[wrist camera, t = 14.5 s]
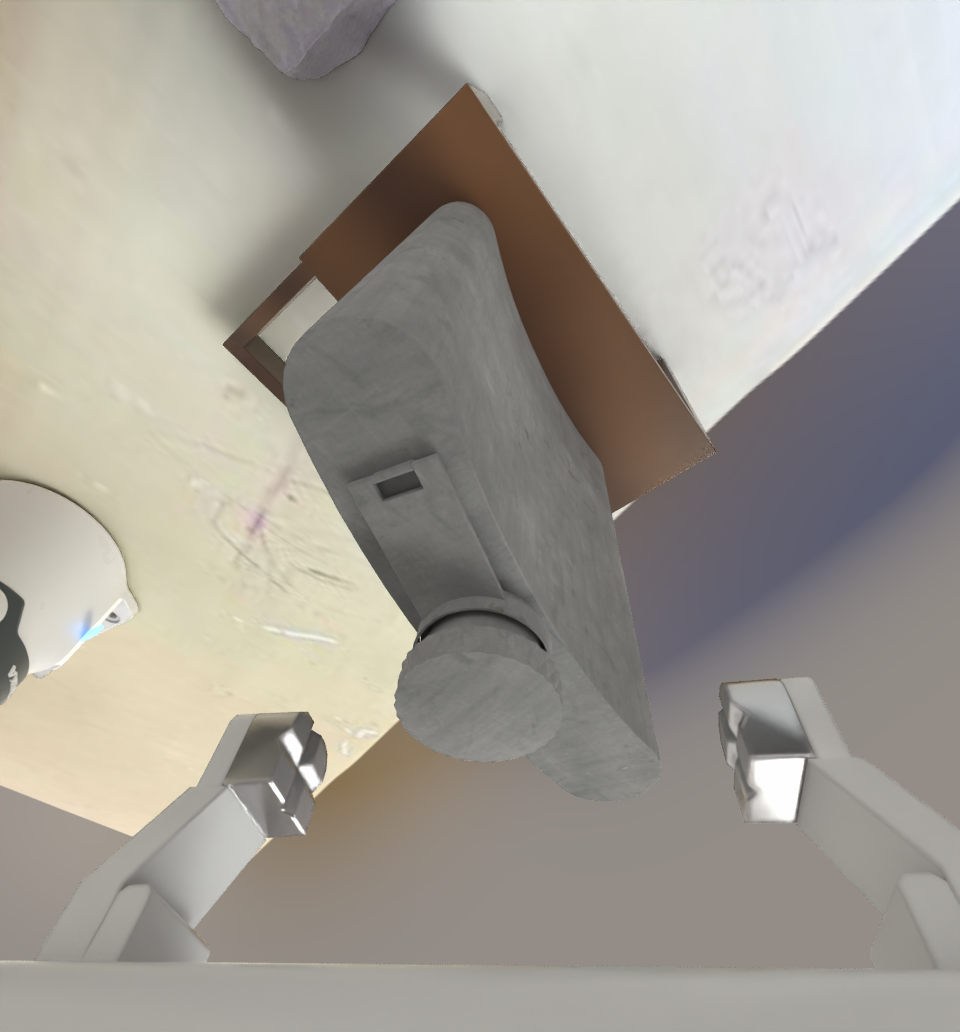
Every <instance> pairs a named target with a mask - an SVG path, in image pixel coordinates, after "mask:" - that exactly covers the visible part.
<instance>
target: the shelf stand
mask: <svg viewBox="0 0 960 1032" xmlns="http://www.w3.org/2000/svg"><path fill="white" fill-rule="evenodd" d="M502 120H503V118H502V116H501V115H500V113H499V112H498V110H497V109H496V107H495V106H494V104H493V103H492V101H491V100H490V98H489V97H488V95H487V94H486V93H484V92H482V91H480V90H479V89H477V88H475V87H473V86H471V85H469V84H468V83H467V84H465V85H464V86H463V87H462V88H461V89H460V91H459V92H458V93H457V94H456V95H455V96H454V97H453V98H452V99H451V100H450V101H449V102H448V103H447V104H446V105H445V106H444V107H443V108H442V109H441V110H440V111H439V112H438V113H437V114H436V115H435V117H434V118H433V119H432V120H431V121H430V122H429V123H428V124H427V125H426V126H425V127H424V128H423V129H422V130H421V131H420V132H419V133H418V134H417V135H416V136H415V137H414V138H413V139H412V140H411V141H410V143H409V144H408V145H407V146H406V147H405V148H404V149H403V150H402V151H401V152H400V153H399V154H398V155H397V156H396V157H395V158H394V159H393V160H392V161H391V162H390V163H389V164H388V165H387V166H386V167H385V169H384V170H383V171H382V172H381V173H380V174H379V175H378V176H377V177H376V178H375V179H374V180H373V181H372V182H371V183H370V184H369V185H368V186H367V187H366V188H365V189H364V190H363V191H362V192H361V193H360V194H359V196H358V197H357V198H356V199H355V200H354V201H353V202H352V203H351V204H350V205H349V206H348V207H347V208H346V209H345V210H344V211H343V212H342V213H341V214H340V215H339V216H338V217H337V218H336V219H335V220H334V222H333V223H332V224H331V225H330V226H329V227H328V228H327V229H326V230H325V231H324V232H323V233H322V234H321V235H320V236H319V237H318V238H317V239H316V240H315V241H314V242H313V243H312V244H311V245H310V246H309V248H308V249H307V250H306V251H305V252H304V253H303V254H302V255H301V256H300V257H299V258H300V260H301V261H302V263H301V264H300V265H299V266H298V267H297V268H296V269H295V270H294V271H293V272H292V273H291V274H290V275H289V276H288V277H287V278H286V279H285V280H284V281H283V282H282V283H281V284H280V285H279V286H278V288H277V289H276V290H275V291H274V292H273V293H272V294H271V295H270V296H269V297H268V298H267V299H266V300H265V301H264V302H263V303H262V304H261V305H260V306H259V307H258V308H257V309H256V310H255V311H254V312H253V313H252V314H251V315H250V316H249V317H248V318H247V319H246V321H245V322H244V323H243V324H242V325H241V326H240V327H239V328H238V329H237V330H236V331H235V332H234V333H233V334H232V335H231V336H230V337H229V338H228V339H227V340H226V341H225V342H224V343H223V346H224V347H225V348H226V349H227V350H228V351H229V352H230V353H231V354H232V355H234V356H235V357H236V358H237V359H238V360H239V361H240V362H241V363H242V364H243V365H244V366H245V367H246V368H247V369H248V370H249V371H250V372H251V373H252V374H253V375H254V376H255V377H256V378H257V379H258V380H259V381H260V382H261V383H262V384H263V385H264V386H265V387H267V388H268V389H269V390H270V391H271V392H272V393H273V394H274V395H275V396H276V397H277V398H278V399H279V400H280V401H281V402H282V403H283V404H284V405H285V406H286V403H285V398H284V391H283V374H284V368H285V365H286V364H285V363H284V362H283V361H282V360H281V359H280V358H279V357H278V356H277V355H276V354H275V353H274V352H273V351H272V350H271V349H270V348H269V347H268V346H267V345H266V344H265V343H264V342H263V341H262V340H261V339H260V338H259V337H258V335H259V334H260V333H261V332H262V331H263V330H264V329H265V328H266V327H267V326H268V325H269V324H270V323H271V322H272V321H273V320H274V319H275V318H276V317H277V316H278V315H279V314H280V313H281V312H282V311H283V310H284V309H285V308H286V307H287V306H288V305H289V304H290V303H291V302H292V301H293V300H294V299H295V298H296V297H297V296H298V295H299V294H300V293H301V292H302V291H303V290H304V289H305V288H306V287H307V286H308V285H309V284H310V283H311V282H312V281H313V280H314V279H315V278H316V277H317V279H318V280H319V281H320V282H321V283H322V284H323V285H324V286H325V287H326V289H327V290H328V291H329V292H330V293H331V294H332V295H333V296H334V297H335V299H336V300H337V301H339V300H341V299H342V298H343V297H344V296H345V295H346V294H347V293H348V292H349V291H350V290H351V289H352V288H353V287H354V286H356V285H357V284H358V283H359V282H360V281H361V280H362V279H363V278H364V277H365V276H366V275H367V274H368V273H369V272H371V271H372V270H373V269H374V268H375V267H376V266H377V265H378V264H379V263H380V262H381V261H382V260H383V259H384V258H385V257H387V256H388V255H389V254H390V253H391V252H392V251H393V250H394V249H395V248H396V247H397V246H398V245H399V244H400V243H402V242H403V241H404V240H405V239H406V238H407V237H408V236H409V235H410V234H411V233H412V232H413V231H414V230H415V229H417V228H418V227H419V226H420V225H421V224H422V223H423V222H424V221H425V220H426V219H427V218H428V217H429V216H430V215H431V214H433V213H434V212H435V211H436V210H437V209H438V208H440V207H441V206H443V205H445V204H448V203H451V202H456V201H458V202H466V203H470V204H473V205H474V206H476V207H478V208H479V209H481V210H482V211H483V212H484V213H485V214H486V215H487V217H488V218H489V219H490V221H491V223H492V225H493V228H494V231H495V235H496V239H497V243H498V247H499V252H500V256H501V259H502V263H503V267H504V270H505V274H506V277H507V281H508V284H509V287H510V290H511V293H512V296H513V299H514V302H515V305H516V307H517V310H518V313H519V315H520V318H521V321H522V324H523V326H524V328H525V331H526V333H527V335H528V338H529V340H530V343H531V345H532V347H533V349H534V351H535V353H536V356H537V358H538V360H539V362H540V364H541V366H542V368H543V370H544V373H545V375H546V377H547V379H548V381H549V383H550V385H551V387H552V388H553V390H554V392H555V394H556V396H557V398H558V400H559V401H560V403H561V405H562V406H563V408H564V410H565V411H566V413H567V415H568V416H569V418H570V420H571V421H572V423H573V424H574V426H575V427H576V429H577V430H578V432H579V433H580V435H581V436H582V437H583V439H584V440H585V442H586V443H587V444H588V446H589V447H590V448H591V449H592V451H593V452H594V453H595V454H596V456H597V457H598V458H599V460H600V462H601V464H602V467H603V472H604V477H605V482H606V487H607V493H608V498H609V503H610V508H611V513H613V512H615V511H617V510H619V509H620V508H622V507H624V506H625V505H627V504H629V503H631V502H632V501H634V500H636V499H637V498H639V497H641V496H643V495H644V494H646V493H648V492H649V491H651V490H653V489H655V488H656V487H658V486H660V485H662V484H663V483H665V482H667V481H668V480H670V479H672V478H674V477H675V476H677V475H679V474H681V473H682V472H684V471H686V470H687V469H689V468H691V467H693V466H694V465H696V464H698V463H699V462H701V461H703V460H705V459H706V458H708V457H710V456H711V455H713V454H715V453H716V450H715V448H714V447H713V445H712V443H711V441H710V439H709V437H708V436H707V434H706V432H705V430H704V428H703V427H702V425H701V423H700V421H699V419H698V418H697V416H696V414H695V412H694V410H693V408H692V407H691V405H690V403H689V401H688V399H687V398H686V396H685V394H684V392H683V390H682V389H681V387H680V385H679V383H678V381H677V379H676V378H675V376H674V374H673V373H672V371H671V370H670V368H669V367H668V365H667V364H666V362H665V361H664V359H663V358H662V359H660V360H659V361H658V362H657V361H656V360H655V358H654V357H653V355H652V354H651V352H650V351H649V349H648V348H647V346H646V345H645V343H644V342H643V340H642V339H641V337H640V336H639V334H638V333H637V331H636V330H635V328H634V327H633V325H632V324H631V323H630V321H629V320H628V318H627V317H626V315H625V314H624V312H623V311H622V309H621V308H620V306H619V305H618V303H617V302H616V300H615V299H614V297H613V296H612V294H611V293H610V291H609V290H608V288H607V287H606V285H605V284H604V282H603V281H602V279H601V278H600V277H599V275H598V274H597V272H596V271H595V269H594V268H593V266H592V265H591V263H590V262H589V260H588V259H587V257H586V256H585V254H584V253H583V251H582V250H581V248H580V247H579V245H578V244H577V242H576V241H575V239H574V238H573V236H572V235H571V233H570V232H569V230H568V229H567V228H566V226H565V225H564V223H563V222H562V220H561V219H560V217H559V216H558V214H557V213H556V211H555V210H554V208H553V207H552V205H551V204H550V202H549V201H548V199H547V198H546V196H545V195H544V193H543V192H542V190H541V189H540V187H539V186H538V184H537V183H536V182H535V180H534V179H533V177H532V176H531V174H530V173H529V171H528V170H527V168H526V167H525V165H524V164H523V162H522V161H521V159H520V158H519V156H518V155H517V153H516V152H515V150H514V149H513V147H512V146H511V144H510V143H509V141H508V140H507V138H506V137H505V136H504V134H503V133H502V131H501V130H500V128H499V127H498V124H499V123H500V122H501V121H502ZM286 407H287V406H286Z"/></svg>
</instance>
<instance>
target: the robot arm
mask: <svg viewBox="0 0 960 1032" xmlns="http://www.w3.org/2000/svg"><path fill="white" fill-rule="evenodd" d="M137 613H138V606H137V603H136V601H135V599H134V597H133V596H132V594H131V592H130V591H129V589H128V586H127V577H126V567H125V563H124V560H123V557H122V554H121V552H120V550H119V548H118V546H117V545H116V543H115V542H114V540H113V539H112V537H111V536H110V535H109V533H108V532H107V531H106V530H105V529H104V528H103V527H102V525H101V524H100V523H99V522H98V521H96V520H95V519H94V518H93V517H92V516H91V515H90V514H88V513H87V512H86V511H85V510H83V509H82V508H81V507H79V506H78V505H76V504H75V503H73V502H71V501H70V500H68V499H66V498H65V497H63V496H61V495H59V494H57V493H55V492H52V491H50V490H48V489H45V488H42V487H40V486H36V485H33V484H29V483H25V482H20V481H13V480H0V705H2V703H4V702H5V701H6V700H7V699H8V698H9V697H10V696H11V695H12V694H13V693H14V691H15V689H16V687H17V686H18V685H19V684H20V683H21V682H22V681H23V680H24V679H25V677H26V676H27V674H32V675H33V676H35V677H36V678H39V679H41V678H43V677H45V676H46V675H48V674H49V673H50V672H51V671H52V670H56V669H58V668H59V667H61V666H62V665H63V664H64V663H65V662H66V661H67V660H68V659H69V658H70V657H71V656H72V654H73V653H74V652H75V651H76V650H77V649H78V648H79V647H80V646H81V645H82V644H83V643H84V641H85V640H88V639H90V638H92V637H94V636H96V635H97V634H99V633H102V632H104V631H106V630H109V629H111V628H113V627H115V626H118V625H120V624H122V623H125V622H127V621H129V620H130V619H132V618H133V617H134V616H135V615H136V614H137ZM719 697H720V700H721V703H722V707H723V709H722V710H721V711H720V712H719V733H720V740H721V745H722V748H723V752H724V756H725V760H726V763H727V765H728V766H730V767H731V768H732V769H733V770H734V771H735V772H734V790H735V793H736V796H737V799H738V802H739V806H740V809H741V812H742V815H743V818H744V822H745V823H788V822H789V823H797V826H798V827H799V828H800V829H801V830H802V832H803V833H804V834H805V835H806V836H807V837H808V838H809V839H810V840H811V841H812V842H813V843H814V844H815V845H816V846H817V847H818V848H819V849H820V850H821V851H822V852H823V853H824V854H825V855H826V856H827V857H828V858H829V860H830V861H831V862H832V863H833V864H834V865H835V866H836V867H837V868H838V869H839V870H840V871H841V872H842V873H843V874H844V875H845V876H846V877H847V878H848V879H849V880H850V881H851V882H852V884H853V885H854V886H855V887H856V888H857V889H858V890H859V891H860V892H861V893H862V894H863V895H864V896H865V897H866V898H867V899H868V900H869V901H870V902H871V903H872V904H873V905H874V906H875V908H876V909H877V910H878V911H879V912H880V913H881V914H882V915H883V916H884V917H883V919H882V922H881V924H880V927H879V930H878V932H877V935H876V938H875V940H874V943H873V945H872V948H871V951H870V953H869V956H870V959H871V961H872V964H873V966H874V969H841V968H839V969H837V968H836V969H835V968H834V969H833V968H736V967H734V968H732V967H631V966H627V967H626V966H528V965H526V966H525V965H424V964H423V965H422V964H421V965H419V964H416V965H415V964H315V963H313V964H312V963H310V964H309V963H206V962H207V959H208V956H209V954H210V949H209V946H208V944H207V943H206V942H205V941H204V940H203V939H202V938H201V937H200V936H199V935H198V934H197V933H196V931H194V928H195V926H196V925H197V924H198V923H199V921H200V920H201V919H202V918H203V917H204V915H205V914H206V913H207V912H208V911H209V909H210V908H211V907H212V906H213V904H214V903H215V902H216V901H217V900H218V898H219V897H220V896H221V894H222V893H223V892H224V891H225V890H226V889H227V887H228V886H229V885H230V884H231V882H232V881H233V880H234V879H235V878H236V877H237V875H238V874H239V873H240V872H241V870H242V869H243V868H244V867H245V866H246V864H247V863H248V862H249V861H250V860H251V858H252V857H253V856H254V855H255V853H256V852H257V851H258V850H259V849H260V847H261V846H262V845H263V844H264V842H265V841H266V839H265V838H274V837H290V836H305V835H306V832H307V829H308V825H309V822H310V819H311V816H312V813H313V810H314V807H315V801H314V798H313V795H312V793H313V792H314V791H315V789H316V788H317V787H318V786H319V785H320V784H321V783H322V782H323V779H324V775H325V772H326V767H327V750H326V745H325V742H324V740H323V738H322V736H321V735H319V734H317V733H316V732H314V731H313V730H311V729H312V726H313V724H314V721H313V720H312V718H311V716H310V715H309V713H308V712H287V713H261V714H243V715H236V716H235V717H234V718H233V719H232V720H231V721H230V722H229V724H228V726H227V728H226V730H225V732H224V734H223V736H222V738H221V740H220V742H219V744H218V746H217V748H216V750H215V752H214V754H213V756H212V758H211V759H210V761H209V763H208V765H207V767H206V769H205V771H204V773H203V775H202V777H201V779H200V781H199V783H198V785H197V787H190V788H189V789H187V790H186V791H185V792H184V793H183V794H182V795H181V796H179V797H178V798H177V799H176V800H175V801H174V802H172V803H171V804H170V805H169V806H168V807H167V808H166V809H164V810H163V811H162V812H161V813H160V814H159V815H157V816H156V817H155V818H154V819H153V820H152V821H151V822H149V823H148V824H147V825H146V826H145V827H144V828H142V829H141V830H140V831H139V832H138V833H137V834H136V835H134V836H133V837H132V838H131V839H130V840H129V841H128V842H126V843H125V844H124V845H123V846H122V847H121V848H119V849H118V850H117V851H116V852H115V853H114V854H113V855H111V856H110V857H109V858H108V859H107V860H106V861H104V862H103V863H102V864H101V865H100V866H99V867H98V868H96V869H95V870H94V871H93V872H92V873H91V874H90V875H88V876H87V877H86V878H85V879H84V880H83V881H81V882H80V883H79V885H78V887H77V888H76V890H75V892H74V893H73V895H72V897H71V898H70V900H69V902H68V904H67V906H66V907H65V908H64V910H63V912H62V913H61V915H60V917H59V919H58V920H57V922H56V923H55V925H54V927H53V928H52V930H51V932H50V934H49V935H48V937H47V938H46V940H45V942H44V943H43V945H42V947H41V948H40V951H39V952H38V954H37V955H36V957H35V958H34V960H33V961H0V1032H960V828H958V827H957V826H955V825H954V824H953V823H951V822H950V821H949V820H947V819H946V818H945V817H943V816H942V815H941V814H939V813H938V812H936V811H935V810H934V809H932V808H931V807H929V806H928V805H927V804H926V803H924V802H923V801H922V800H920V799H919V798H917V797H916V796H914V795H913V794H912V793H911V792H909V791H908V790H906V789H905V788H903V787H902V786H901V785H900V784H898V783H897V782H896V781H894V780H893V779H891V778H890V777H889V776H887V775H886V774H885V773H883V772H882V771H881V770H879V769H878V768H877V767H875V766H874V765H873V764H871V763H870V762H868V761H867V760H866V759H864V758H863V757H852V755H851V753H850V751H849V749H848V747H847V745H846V743H845V741H844V739H843V737H842V735H841V733H840V731H839V729H838V727H837V726H836V724H835V722H834V720H833V718H832V716H831V714H830V712H829V710H828V708H827V706H826V704H825V702H824V700H823V698H822V696H821V694H820V692H819V690H818V688H817V686H816V684H815V682H814V681H813V680H812V679H811V678H810V677H801V678H786V679H779V680H778V679H764V680H752V681H739V682H727V683H721V685H720V692H719Z"/></svg>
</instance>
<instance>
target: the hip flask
mask: <svg viewBox="0 0 960 1032" xmlns="http://www.w3.org/2000/svg"><path fill="white" fill-rule="evenodd" d="M283 391H284V398H285V403H286V406H287V409H288V411H289V414H290V417H291V419H292V421H293V423H294V425H295V427H296V429H297V431H298V433H299V435H300V437H301V439H302V441H303V444H304V446H305V448H306V450H307V452H308V454H309V456H310V458H311V460H312V462H313V464H314V466H315V468H316V470H317V472H318V473H319V475H320V477H321V479H322V481H323V483H324V485H325V487H326V489H327V490H328V492H329V494H330V496H331V498H332V500H333V502H334V504H335V506H336V507H337V509H338V511H339V513H340V514H341V516H342V518H343V520H344V521H345V523H346V525H347V526H348V528H349V530H350V531H351V533H352V535H353V536H354V538H355V540H356V542H357V543H358V545H359V547H360V548H361V550H362V552H363V553H364V555H365V556H366V558H367V559H368V561H369V563H370V564H371V566H372V567H373V569H374V570H375V572H376V574H377V575H378V577H379V578H380V580H381V581H382V583H383V585H384V586H385V588H386V589H387V591H388V592H389V593H390V595H391V596H392V598H393V599H394V601H395V602H396V603H397V605H398V606H399V608H400V609H401V611H402V612H403V614H404V615H405V616H406V618H407V619H408V621H409V622H410V623H411V625H412V626H413V627H414V629H415V630H416V631H417V637H416V639H415V642H414V645H413V649H412V650H411V651H409V652H408V653H407V658H406V659H405V660H404V661H403V663H402V671H401V673H400V675H399V679H398V688H397V690H396V692H395V695H394V696H395V699H396V701H395V704H394V707H395V709H396V711H397V717H398V718H399V719H400V720H401V723H402V726H403V727H404V728H405V729H406V730H408V732H409V734H410V735H411V736H412V737H414V738H416V739H417V740H418V741H419V742H420V743H421V744H423V745H426V746H427V747H429V748H430V749H432V750H433V751H436V752H440V753H442V754H444V755H446V756H449V757H455V758H458V759H461V760H471V761H475V762H484V761H485V762H496V761H508V760H511V759H513V758H520V757H523V756H526V757H527V758H528V759H529V760H530V761H531V762H532V763H533V764H534V765H536V766H537V767H538V768H539V769H540V770H542V772H543V773H545V774H546V775H547V776H548V777H549V778H550V779H552V780H553V781H554V782H555V783H556V784H557V785H559V786H560V787H561V788H563V789H564V790H565V791H567V792H569V793H571V794H573V795H575V796H578V797H581V798H584V799H589V800H594V801H618V800H624V799H628V798H631V797H635V796H637V795H639V794H641V793H643V792H645V791H647V790H648V789H650V788H651V787H652V786H653V785H654V784H655V783H656V782H657V780H658V778H659V777H660V773H661V762H660V757H659V752H658V747H657V741H656V736H655V731H654V726H653V721H652V716H651V711H650V706H649V701H648V696H647V691H646V686H645V680H644V675H643V670H642V665H641V660H640V655H639V650H638V645H637V640H636V635H635V630H634V625H633V619H632V614H631V609H630V604H629V599H628V594H627V589H626V584H625V579H624V574H623V569H622V564H621V559H620V554H619V549H618V543H617V538H616V533H615V529H614V523H613V518H612V513H611V508H610V503H609V498H608V493H607V487H606V482H605V477H604V472H603V467H602V464H601V462H600V460H599V458H598V457H597V456H596V454H595V453H594V452H593V451H592V449H591V448H590V447H589V446H588V444H587V443H586V442H585V440H584V439H583V437H582V436H581V435H580V433H579V432H578V430H577V429H576V427H575V426H574V424H573V423H572V421H571V420H570V418H569V416H568V415H567V413H566V411H565V410H564V408H563V406H562V405H561V403H560V401H559V400H558V398H557V396H556V394H555V392H554V390H553V388H552V387H551V385H550V383H549V381H548V379H547V377H546V375H545V373H544V370H543V368H542V366H541V364H540V362H539V360H538V358H537V356H536V353H535V351H534V349H533V347H532V345H531V343H530V340H529V338H528V335H527V333H526V331H525V328H524V326H523V324H522V321H521V318H520V315H519V313H518V310H517V307H516V305H515V302H514V299H513V296H512V293H511V290H510V287H509V284H508V281H507V277H506V274H505V270H504V267H503V263H502V259H501V256H500V252H499V247H498V243H497V239H496V235H495V231H494V228H493V225H492V223H491V221H490V219H489V218H488V217H487V215H486V214H485V213H484V212H483V211H482V210H481V209H479V208H478V207H476V206H474V205H473V204H470V203H466V202H458V201H456V202H451V203H448V204H445V205H443V206H441V207H440V208H438V209H437V210H436V211H435V212H434V213H433V214H431V215H430V216H429V217H428V218H427V219H426V220H425V221H424V222H423V223H422V224H421V225H420V226H419V227H418V228H417V229H415V230H414V231H413V232H412V233H411V234H410V235H409V236H408V237H407V238H406V239H405V240H404V241H403V242H402V243H400V244H399V245H398V246H397V247H396V248H395V249H394V250H393V251H392V252H391V253H390V254H389V255H388V256H387V257H385V258H384V259H383V260H382V261H381V262H380V263H379V264H378V265H377V266H376V267H375V268H374V269H373V270H372V271H371V272H369V273H368V274H367V275H366V276H365V277H364V278H363V279H362V280H361V281H360V282H359V283H358V284H357V285H356V286H354V287H353V288H352V289H351V290H350V291H349V292H348V293H347V294H346V295H345V296H344V297H343V298H342V299H341V300H339V301H338V302H337V303H336V304H335V305H334V306H333V307H332V308H331V309H330V310H329V311H328V312H327V313H326V314H325V315H323V316H322V317H321V318H320V319H319V320H318V321H317V322H316V323H315V324H314V325H313V326H312V327H311V328H310V329H308V330H307V331H306V332H305V333H304V334H303V336H302V337H301V338H300V339H299V340H298V341H297V342H296V343H295V345H294V346H293V348H292V350H291V352H290V354H289V355H288V358H287V361H286V365H285V368H284V374H283ZM420 637H421V642H420Z"/></svg>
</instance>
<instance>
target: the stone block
mask: <svg viewBox="0 0 960 1032" xmlns="http://www.w3.org/2000/svg"><path fill="white" fill-rule="evenodd" d="M215 1H216V3H217V4H218V6H219V8H220V9H221V11H222V12H223V14H224V15H225V16H226V18H227V19H228V20H229V21H230V22H231V23H232V24H233V25H234V26H235V27H236V28H237V29H238V30H239V31H241V32H242V33H243V34H244V35H245V36H247V37H249V38H250V40H251V42H252V44H253V45H254V46H255V47H256V48H257V49H259V50H261V51H262V52H263V53H264V54H265V55H266V56H267V58H268V59H269V60H270V61H271V62H272V63H273V64H274V65H275V66H276V67H277V69H278V70H279V71H280V72H281V73H284V74H286V75H287V76H289V77H292V78H296V79H314V78H318V77H320V78H321V77H323V76H325V75H327V74H329V73H330V72H331V71H332V70H333V69H335V68H336V67H338V66H340V65H341V64H343V63H344V62H347V61H348V60H350V59H352V58H353V57H355V56H356V55H358V54H359V53H360V52H361V50H362V49H363V47H364V46H365V44H366V42H367V40H368V38H369V36H370V35H371V34H372V32H373V31H374V29H375V28H376V27H377V25H378V23H379V21H380V20H381V18H382V17H383V15H384V14H385V13H386V11H387V10H388V9H389V7H390V6H391V5H392V4H394V3H395V2H396V1H397V0H215Z"/></svg>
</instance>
